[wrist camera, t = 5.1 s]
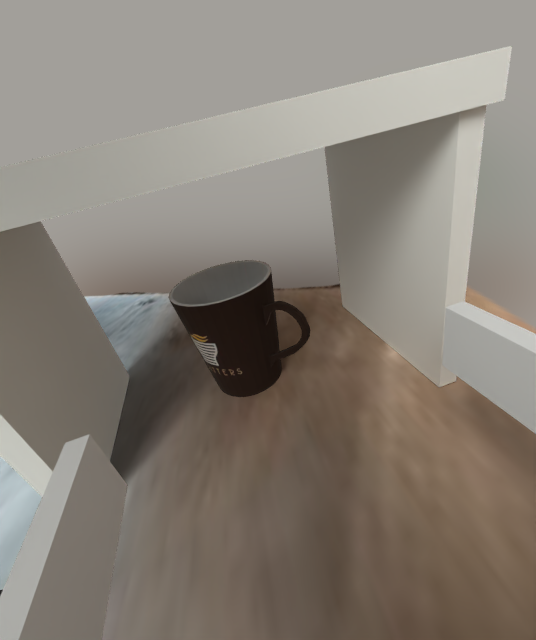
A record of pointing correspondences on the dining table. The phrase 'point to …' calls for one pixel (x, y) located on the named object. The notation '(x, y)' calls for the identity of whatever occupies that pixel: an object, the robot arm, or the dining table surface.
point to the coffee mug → (236, 324)
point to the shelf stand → (228, 155)
